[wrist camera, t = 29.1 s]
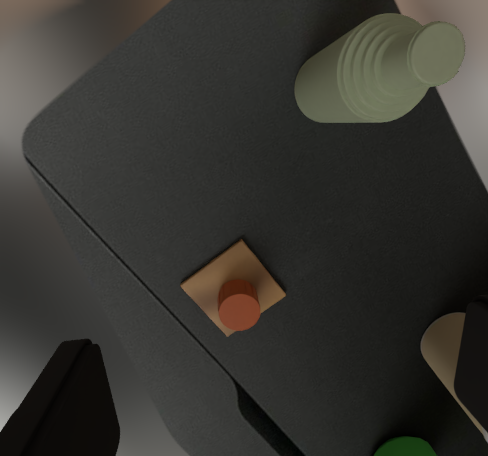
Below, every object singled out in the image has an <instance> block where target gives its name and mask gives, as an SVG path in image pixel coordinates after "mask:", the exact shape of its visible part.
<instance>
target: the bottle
mask: <svg viewBox="0 0 488 456" xmlns="http://www.w3.org/2000/svg"><path fill="white" fill-rule="evenodd" d="M374 456H437V455H436V453H435V452H434V450H433V449H432V447H431V446H430V445H429V443H428V442H426V441H424V440H423V439H421V438H416V437H408V436H402V437H395V438H393V439H390V440H388V441H386V442H385V443H384V444H382V445H381V446H380V447H379V448H378V449H377V451H376V452H375V454H374Z"/></svg>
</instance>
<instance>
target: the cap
mask: <svg viewBox="0 0 488 456" xmlns="http://www.w3.org/2000/svg"><path fill="white" fill-rule="evenodd" d="M218 311H219V318H220V320H221V322H222V323H223V325H224V326H226V327H227V328H229V329H231V330H236V331H241V330H246V329H248V328H250V327H252V326H253V325H254V324H255V323H256V322H257V321H258V319H259V317H260V304H259V300H258V296H257V292H256V289H255V288H254V287H253V285H252V284H250V283H249V282H247V281H245V280H241V279H235V280H231V281H229V282H227V283H226V284H224V285H223V286H222V288H221V289H220V291H219V294H218Z"/></svg>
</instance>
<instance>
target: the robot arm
mask: <svg viewBox="0 0 488 456" xmlns="http://www.w3.org/2000/svg"><path fill="white" fill-rule="evenodd" d="M454 391H455V394H456V396H457V398H458V399H459V400H460V402H461V403H462V404H463V405H464V406H465V407H466V409H467V410H468V411H469V412H470V413H471V414H472V415H473V417H474V418H475V419H476V420H477V421H478V422H479V424H480V425H481V426H482V427H483V428H484V429H485V430H486V432H487V433H488V295H479V296H476V297H474V298H473V299H472V301H471V303H469V304H468V305H467V308H466V314H465V320H464V326H463V332H462V337H461V343H460V349H459V355H458V361H457V367H456V372H455V378H454ZM119 439H120V427H119V423H118V419H117V415H116V411H115V407H114V403H113V399H112V394H111V390H110V386H109V382H108V378H107V375H106V370H105V366H104V362H103V358H102V354H101V350H100V347H99V345H98V344H92V342H91V340H89V339H81V340H71V341H64V342H62V343H61V344H60V346H59V347H58V348H57V350H56V351H55V353H54V354H53V356H52V357H51V359H50V360H49V362H48V363H47V365H46V366H45V368H44V369H43V371H42V373H41V374H40V376H39V377H38V379H37V380H36V382H35V383H34V385H33V386H32V388H31V389H30V391H29V392H28V394H27V395H26V397H25V398H24V400H23V401H22V403H21V404H20V406H19V407H18V409H17V410H16V411H15V412H14V413H13V414H12V416H11V417H10V418H9V420H8V421H7V423H6V424H5V426H4V427H3V429H2V430H1V432H0V456H116V452H117V449H118V445H119Z"/></svg>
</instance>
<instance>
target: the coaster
mask: <svg viewBox="0 0 488 456" xmlns="http://www.w3.org/2000/svg"><path fill="white" fill-rule="evenodd" d="M235 279H241V280H245V281H247V282H249V283H250V284H252V285H253V287H254V288H255V289H256V292H257V296H258V300H259V304H260V313H262V312H263V311H265V310H266V309H268V308H269V307H270V306H272V305H273V304H275V303H276V302H278V301H279V300H280V299H282V298H283V297H285V296H286V293H285V292H284V291H283V289H282V288H281V287H280V286H279V285H278V283H277V282H276V281H275V280H274V278H273V277H272V276H271V275H270V273H269V272H268V271H267V270H266V268H265V267H264V266H263V265H262V264H261V262H260V261H259V260H258V259H257V257H256V256H255V255H254V254H253V252H252V251H251V250H250V249H249V247H248V246H247V245H246V244H245V242H244V241H243V240H242V239H241V240H239V241H238V242H237V243H235V244H234V245H232V246H231V247H230V248H228V249H227V250H226V251H224V252H223V253H222V254H220V255H219V256H218V257H216V258H215V259H214V260H212V261H211V262H210V263H208V264H207V265H205V266H204V267H203V268H201V269H200V270H199V271H197V272H196V273H195V274H193V275H192V276H191V277H189V278H188V279H187V280H185V281H184V282H182V283H181V284H180V286H181V287H182V288H183V290H184V291H185V292H186V293H187V294H188V295H189V296H190V297H191V298H192V299H193V300H194V301H195V302H196V304H197V305H198V306H199V307H200V308H201V309H202V310H203V311H204V312H205V313H206V314H207V315H208V316H209V318H210V319H211V320H212V321H213V322H214V323H215V324H216V325H217V326H218V327H219V328H220V329H221V330H222V331H223V333H224V334H225V335H226V336H227V337H228V336H229V335H231V334H232V333H233V332H235V331H236V330H231V329H229V328H227V327H226V326H224V325H223V323H222V322H221V320H220V318H219V311H218V294H219V291H220V289H221V288H222V286H223V285H224V284H226V283H227V282H229V281H231V280H235Z"/></svg>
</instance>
